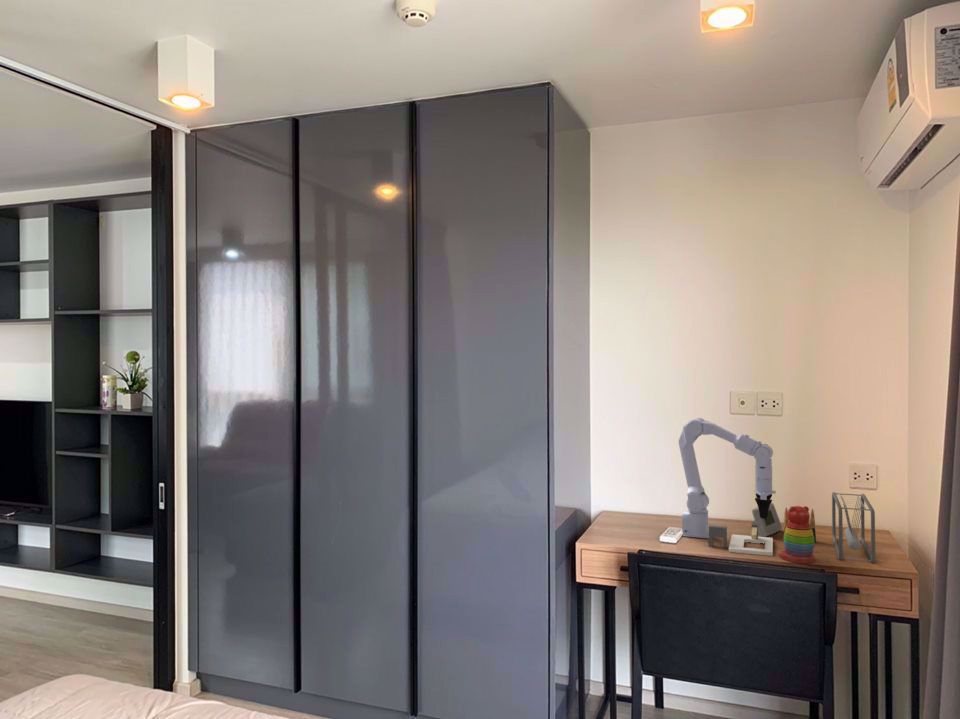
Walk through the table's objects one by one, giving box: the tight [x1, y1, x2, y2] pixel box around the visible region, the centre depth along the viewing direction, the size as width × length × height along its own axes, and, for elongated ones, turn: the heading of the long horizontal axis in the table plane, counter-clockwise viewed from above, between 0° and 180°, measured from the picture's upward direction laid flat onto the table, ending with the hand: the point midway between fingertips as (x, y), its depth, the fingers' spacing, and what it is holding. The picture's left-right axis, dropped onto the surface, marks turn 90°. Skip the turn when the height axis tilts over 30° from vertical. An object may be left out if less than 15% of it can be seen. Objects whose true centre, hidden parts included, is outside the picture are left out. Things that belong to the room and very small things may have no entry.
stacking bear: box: [777, 505, 816, 564], centre depth 231 cm, size 11×10×18 cm
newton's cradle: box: [831, 491, 876, 564], centre depth 240 cm, size 30×10×18 cm, turn 157°
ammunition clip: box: [782, 507, 817, 543], centre depth 253 cm, size 11×2×12 cm, turn 74°
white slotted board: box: [728, 523, 774, 557], centre depth 247 cm, size 14×20×6 cm
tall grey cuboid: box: [708, 524, 728, 549], centre depth 247 cm, size 6×2×7 cm, turn 67°
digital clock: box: [751, 502, 783, 537], centre depth 264 cm, size 16×9×11 cm, turn 123°
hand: (763, 515), depth 251 cm, fingers open, 7 cm apart
